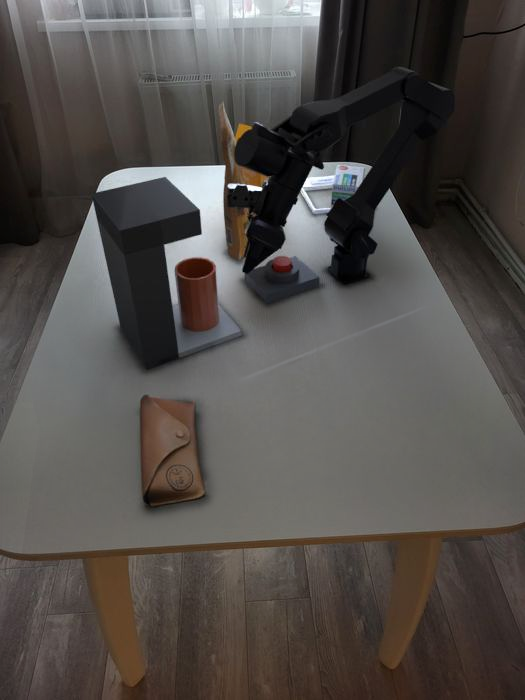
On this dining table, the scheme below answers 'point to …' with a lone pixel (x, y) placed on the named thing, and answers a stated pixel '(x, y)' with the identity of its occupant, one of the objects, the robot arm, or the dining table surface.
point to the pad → (281, 280)
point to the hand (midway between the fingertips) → (245, 264)
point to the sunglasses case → (169, 452)
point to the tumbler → (197, 293)
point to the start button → (282, 264)
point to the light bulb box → (346, 182)
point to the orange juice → (250, 176)
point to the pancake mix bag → (234, 174)
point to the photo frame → (317, 184)
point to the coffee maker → (151, 268)
